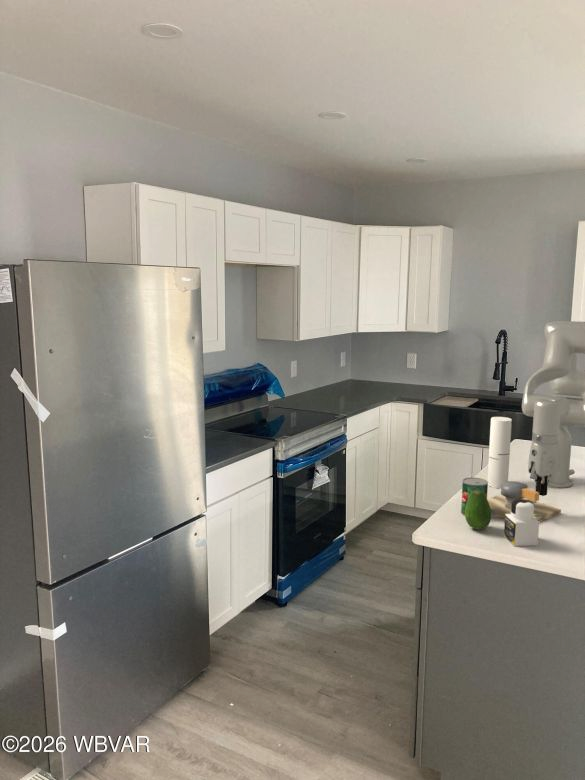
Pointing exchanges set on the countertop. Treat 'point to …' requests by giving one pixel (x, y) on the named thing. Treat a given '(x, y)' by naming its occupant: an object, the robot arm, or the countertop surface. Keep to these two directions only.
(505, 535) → the medicine bottle
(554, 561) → the countertop surface
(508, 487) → the grey paddle
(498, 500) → the plate
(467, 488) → the canned tomato
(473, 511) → the avocado
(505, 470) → the cylindrical container
